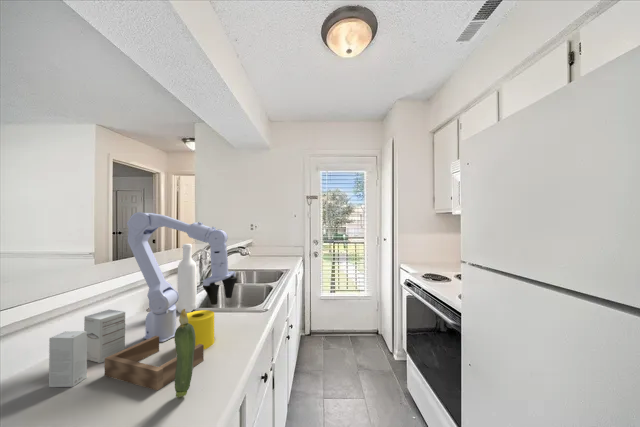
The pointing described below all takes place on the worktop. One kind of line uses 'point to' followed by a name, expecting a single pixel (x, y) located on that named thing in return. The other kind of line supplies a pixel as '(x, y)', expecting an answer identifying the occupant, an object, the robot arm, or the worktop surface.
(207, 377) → the worktop surface
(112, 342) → the supplement box
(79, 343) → the skincare box
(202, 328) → the tape roll
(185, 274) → the bottle
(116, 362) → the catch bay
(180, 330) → the vegetable
